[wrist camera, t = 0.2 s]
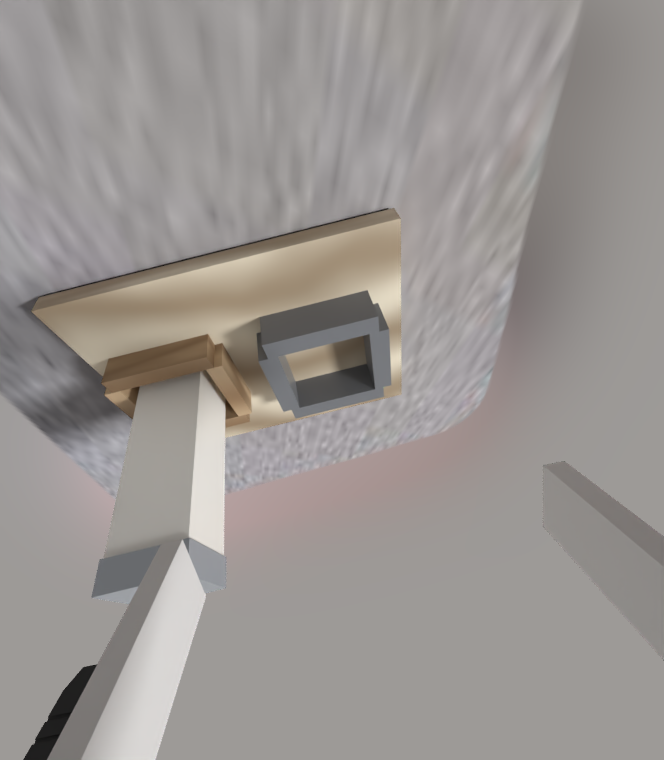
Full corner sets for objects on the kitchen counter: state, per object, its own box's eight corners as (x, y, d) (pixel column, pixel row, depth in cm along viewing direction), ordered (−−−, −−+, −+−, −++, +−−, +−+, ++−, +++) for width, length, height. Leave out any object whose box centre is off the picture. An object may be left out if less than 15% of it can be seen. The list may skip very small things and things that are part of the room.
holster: (100, 360, 22) (92, 385, 20) (215, 331, 22) (214, 355, 20) (164, 421, 28) (160, 443, 26) (255, 399, 27) (256, 420, 26)
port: (250, 319, 21) (251, 347, 20) (377, 287, 21) (388, 313, 20) (290, 407, 29) (294, 433, 28) (383, 384, 29) (392, 409, 28)
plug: (140, 370, 23) (91, 597, 15) (202, 355, 23) (187, 574, 15) (173, 405, 26) (147, 607, 18) (227, 392, 26) (226, 588, 18)
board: (38, 297, 19) (30, 311, 18) (393, 208, 19) (400, 218, 18) (182, 436, 32) (181, 448, 31) (397, 383, 31) (401, 394, 31)
